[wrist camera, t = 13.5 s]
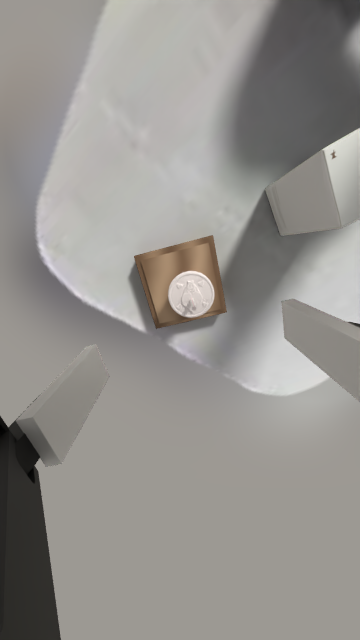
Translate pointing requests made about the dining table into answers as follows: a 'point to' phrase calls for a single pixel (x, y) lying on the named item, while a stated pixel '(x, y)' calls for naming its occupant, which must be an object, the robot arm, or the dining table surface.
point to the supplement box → (320, 190)
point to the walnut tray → (171, 262)
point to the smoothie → (191, 294)
